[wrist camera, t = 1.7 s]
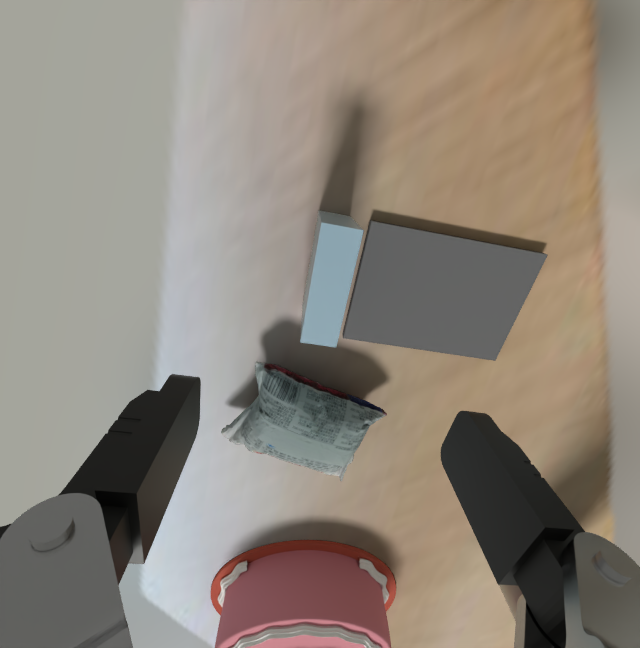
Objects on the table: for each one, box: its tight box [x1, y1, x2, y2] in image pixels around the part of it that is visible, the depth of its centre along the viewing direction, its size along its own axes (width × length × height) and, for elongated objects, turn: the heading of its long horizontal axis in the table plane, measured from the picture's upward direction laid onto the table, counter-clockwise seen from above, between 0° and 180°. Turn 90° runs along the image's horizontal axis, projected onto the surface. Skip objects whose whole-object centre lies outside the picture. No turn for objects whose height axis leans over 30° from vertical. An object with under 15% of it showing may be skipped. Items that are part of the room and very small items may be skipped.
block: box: [300, 210, 364, 347], centre depth 20 cm, size 2×7×6 cm, turn 170°
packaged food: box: [221, 362, 387, 481], centre depth 26 cm, size 9×12×5 cm
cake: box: [211, 540, 396, 648], centre depth 38 cm, size 25×25×11 cm
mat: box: [343, 220, 547, 361], centre depth 24 cm, size 13×9×1 cm
